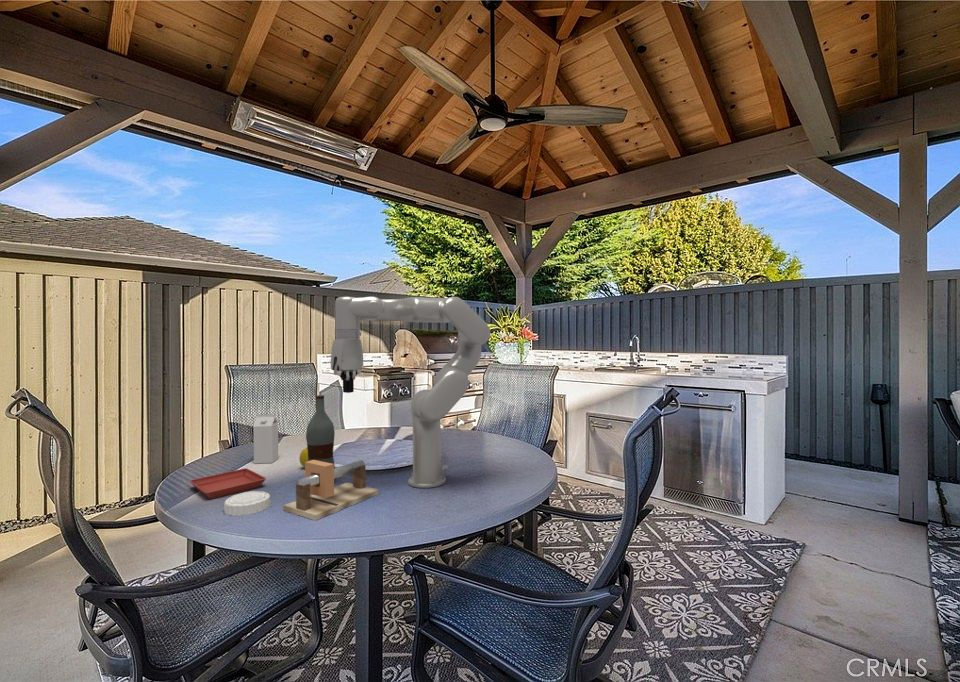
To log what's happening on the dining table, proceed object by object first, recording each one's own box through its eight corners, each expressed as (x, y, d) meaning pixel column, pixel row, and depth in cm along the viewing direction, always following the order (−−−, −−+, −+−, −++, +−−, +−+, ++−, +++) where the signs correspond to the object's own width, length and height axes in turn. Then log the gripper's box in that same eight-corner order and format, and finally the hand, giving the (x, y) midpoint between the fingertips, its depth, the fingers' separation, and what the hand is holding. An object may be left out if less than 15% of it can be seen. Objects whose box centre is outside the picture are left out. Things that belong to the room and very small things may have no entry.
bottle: (327, 477, 161) (327, 393, 160) (340, 482, 154) (339, 395, 154) (301, 483, 154) (300, 395, 154) (313, 489, 148) (312, 398, 147)
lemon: (296, 469, 170) (296, 448, 170) (306, 465, 175) (306, 445, 175) (308, 471, 168) (307, 449, 168) (318, 467, 173) (318, 446, 173)
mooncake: (262, 498, 141) (262, 486, 141) (276, 508, 132) (276, 496, 132) (219, 508, 132) (219, 496, 132) (231, 520, 124) (230, 507, 124)
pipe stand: (347, 486, 150) (347, 461, 150) (378, 494, 143) (378, 467, 143) (283, 510, 130) (282, 481, 130) (315, 520, 122) (314, 489, 122)
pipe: (358, 468, 147) (357, 459, 147) (365, 470, 145) (364, 460, 145) (296, 489, 127) (296, 478, 127) (303, 491, 126) (303, 479, 126)
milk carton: (260, 459, 185) (259, 413, 185) (278, 458, 186) (277, 412, 186) (253, 464, 178) (253, 416, 178) (272, 463, 179) (271, 415, 179)
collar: (313, 489, 136) (313, 459, 136) (334, 494, 131) (333, 463, 131) (305, 492, 133) (305, 462, 133) (325, 498, 128) (325, 466, 128)
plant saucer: (206, 502, 137) (206, 492, 137) (188, 489, 150) (188, 479, 150) (267, 488, 151) (267, 478, 151) (246, 477, 163) (246, 467, 163)
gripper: (357, 335, 153) (357, 389, 154) (320, 335, 141) (321, 394, 141) (373, 335, 149) (373, 390, 150) (337, 335, 137) (337, 395, 137)
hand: (348, 392), depth 145 cm, fingers closed
